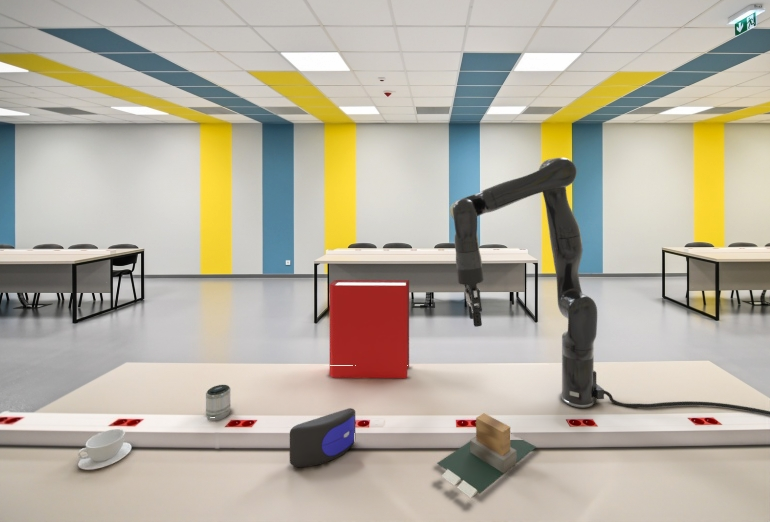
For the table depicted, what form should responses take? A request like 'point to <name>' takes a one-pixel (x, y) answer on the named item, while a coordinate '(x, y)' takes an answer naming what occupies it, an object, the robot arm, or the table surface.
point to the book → (369, 328)
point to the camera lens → (218, 402)
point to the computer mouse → (322, 438)
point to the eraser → (493, 443)
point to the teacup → (104, 449)
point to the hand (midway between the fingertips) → (475, 322)
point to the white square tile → (451, 477)
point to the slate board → (480, 465)
